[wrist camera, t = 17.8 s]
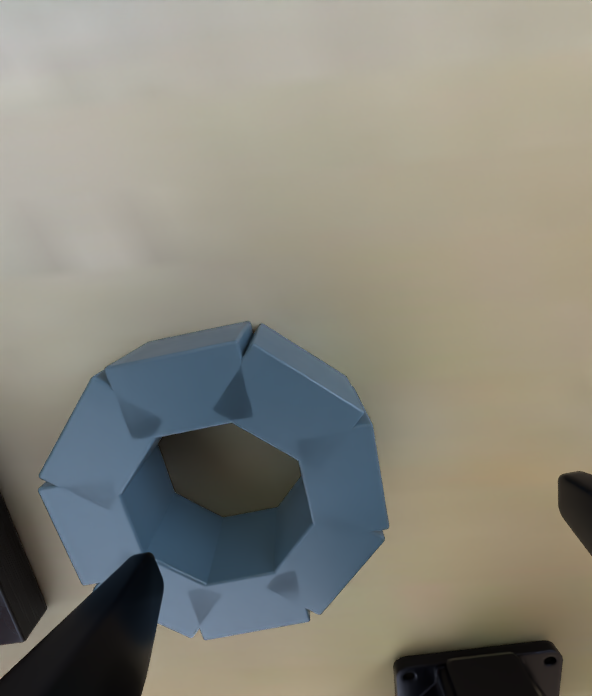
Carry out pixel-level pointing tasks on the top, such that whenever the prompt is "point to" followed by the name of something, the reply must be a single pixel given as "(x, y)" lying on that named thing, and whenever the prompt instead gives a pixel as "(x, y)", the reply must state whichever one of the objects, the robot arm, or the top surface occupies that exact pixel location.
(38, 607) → the stand
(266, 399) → the slate ring
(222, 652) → the top surface
